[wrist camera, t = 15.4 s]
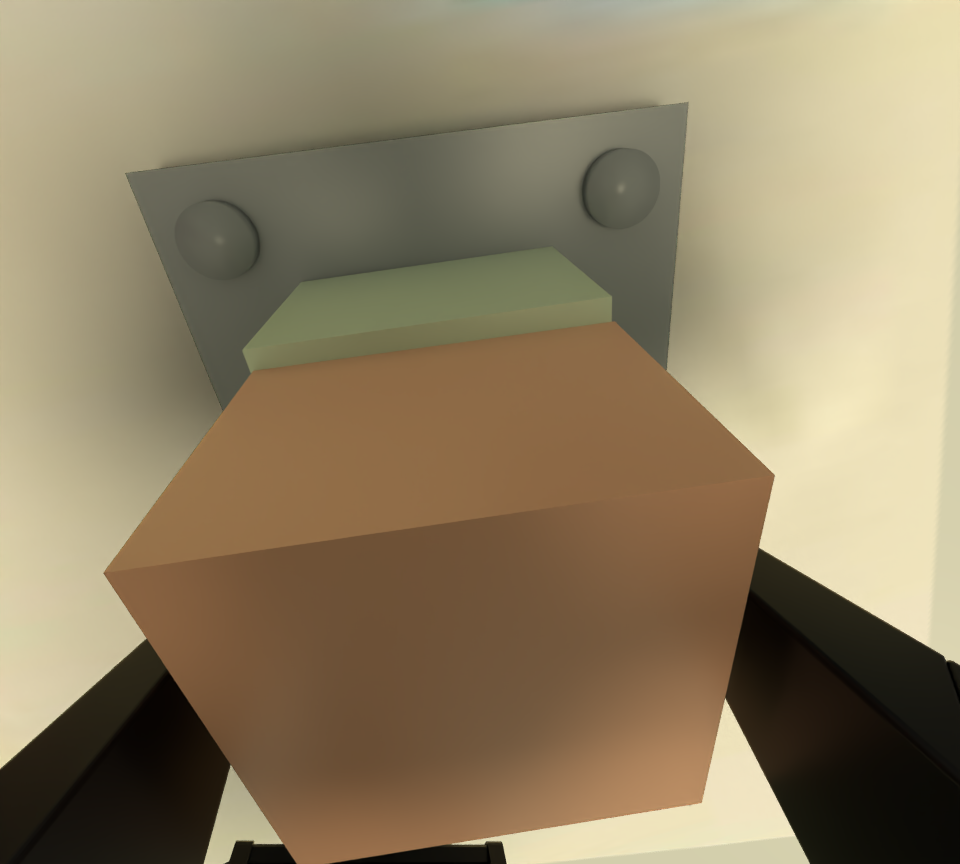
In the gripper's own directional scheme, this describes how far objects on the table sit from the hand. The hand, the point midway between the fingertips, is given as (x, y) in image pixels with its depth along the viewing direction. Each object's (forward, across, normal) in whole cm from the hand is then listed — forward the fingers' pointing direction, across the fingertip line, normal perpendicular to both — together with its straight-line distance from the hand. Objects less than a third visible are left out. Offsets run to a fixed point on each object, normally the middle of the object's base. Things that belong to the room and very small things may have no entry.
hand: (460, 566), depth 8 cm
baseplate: (+8, 0, 0) cm, 8 cm away
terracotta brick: (+2, 0, 0) cm, 2 cm away
